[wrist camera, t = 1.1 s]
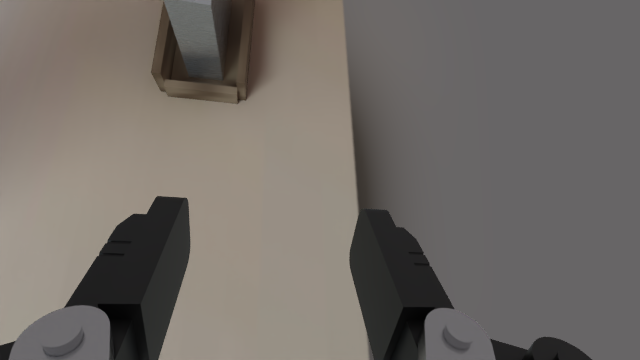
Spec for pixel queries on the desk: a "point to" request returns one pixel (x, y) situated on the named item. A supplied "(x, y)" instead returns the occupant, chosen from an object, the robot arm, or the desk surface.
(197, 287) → the desk surface
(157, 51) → the walnut box
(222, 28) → the grey rectangular block
